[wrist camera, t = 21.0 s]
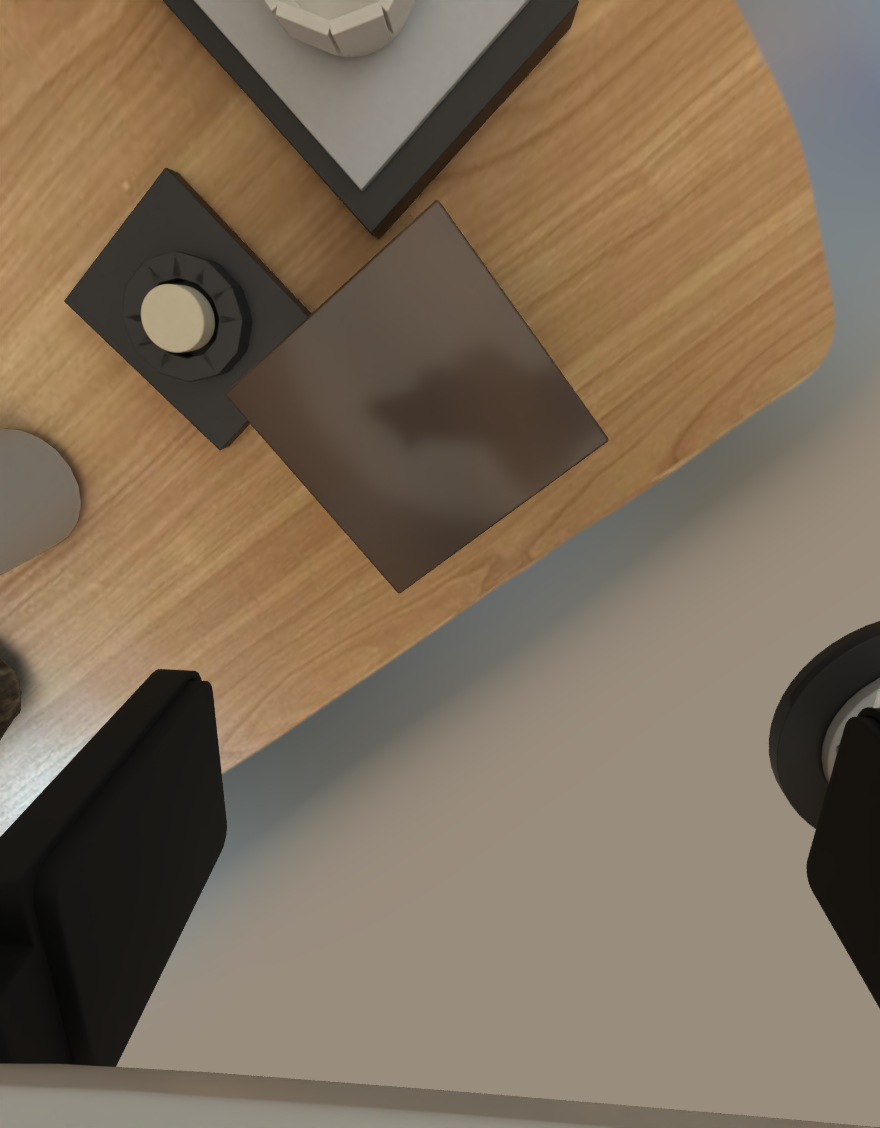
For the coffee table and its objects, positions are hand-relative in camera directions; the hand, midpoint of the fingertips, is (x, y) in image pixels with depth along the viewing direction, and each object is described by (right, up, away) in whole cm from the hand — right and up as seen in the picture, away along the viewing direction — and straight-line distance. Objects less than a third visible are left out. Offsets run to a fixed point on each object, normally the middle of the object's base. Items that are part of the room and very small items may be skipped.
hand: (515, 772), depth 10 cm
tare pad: (-14, +17, +27) cm, 35 cm away
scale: (-5, +29, +22) cm, 37 cm away
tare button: (-14, +16, +24) cm, 32 cm away
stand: (-1, +13, +27) cm, 30 cm away
